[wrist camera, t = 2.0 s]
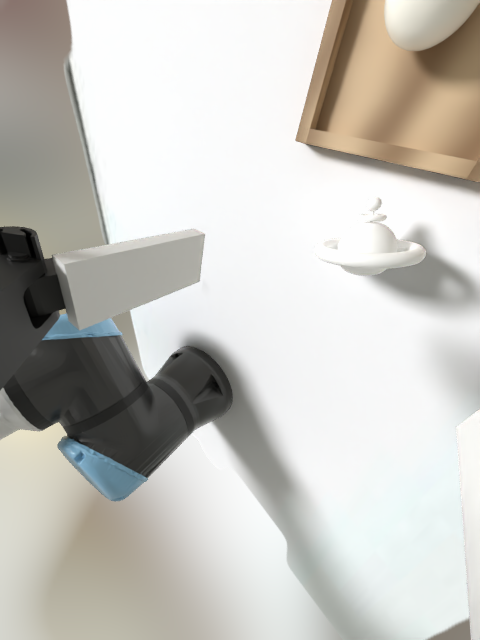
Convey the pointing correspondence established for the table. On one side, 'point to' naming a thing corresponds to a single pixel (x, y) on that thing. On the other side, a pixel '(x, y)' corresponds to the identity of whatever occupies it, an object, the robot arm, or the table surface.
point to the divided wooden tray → (395, 94)
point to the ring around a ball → (370, 247)
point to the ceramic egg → (425, 21)
